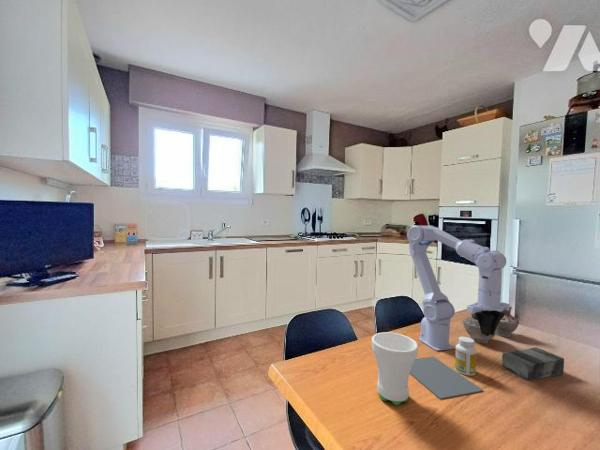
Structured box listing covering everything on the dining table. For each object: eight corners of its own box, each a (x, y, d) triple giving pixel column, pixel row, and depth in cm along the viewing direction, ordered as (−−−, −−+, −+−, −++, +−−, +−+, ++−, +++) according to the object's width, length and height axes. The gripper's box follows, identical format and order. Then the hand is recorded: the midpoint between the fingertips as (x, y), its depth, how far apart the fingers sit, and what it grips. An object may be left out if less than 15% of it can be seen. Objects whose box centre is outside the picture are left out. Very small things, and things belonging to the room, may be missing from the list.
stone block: (497, 365, 87) (498, 349, 87) (532, 360, 90) (532, 345, 90) (527, 382, 78) (528, 363, 78) (564, 375, 82) (564, 358, 82)
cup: (411, 418, 62) (413, 356, 62) (363, 400, 68) (365, 343, 68) (419, 392, 72) (421, 338, 71) (377, 378, 78) (378, 328, 77)
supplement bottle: (473, 368, 84) (474, 337, 84) (478, 377, 79) (479, 344, 79) (453, 364, 86) (454, 334, 86) (456, 373, 81) (458, 341, 80)
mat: (396, 362, 86) (396, 361, 86) (433, 357, 90) (433, 356, 90) (439, 399, 69) (439, 398, 69) (483, 391, 73) (483, 390, 73)
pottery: (525, 338, 107) (526, 307, 107) (485, 349, 97) (487, 316, 96) (494, 327, 117) (495, 299, 117) (455, 336, 107) (457, 306, 107)
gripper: (482, 295, 78) (480, 342, 78) (520, 292, 82) (518, 337, 82) (462, 289, 85) (460, 332, 85) (497, 286, 89) (496, 328, 89)
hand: (487, 334), depth 84 cm, fingers closed
